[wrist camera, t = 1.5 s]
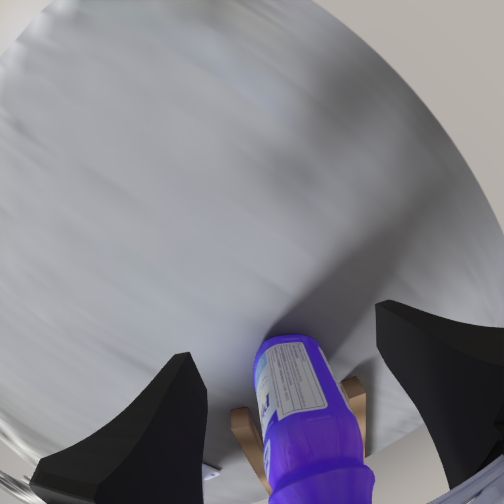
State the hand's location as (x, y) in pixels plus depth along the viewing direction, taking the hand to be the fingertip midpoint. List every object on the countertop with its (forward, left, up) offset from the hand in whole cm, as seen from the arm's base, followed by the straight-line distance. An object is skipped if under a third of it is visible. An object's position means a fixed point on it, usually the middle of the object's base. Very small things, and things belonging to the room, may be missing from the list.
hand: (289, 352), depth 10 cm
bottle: (-5, -8, -11) cm, 14 cm away
